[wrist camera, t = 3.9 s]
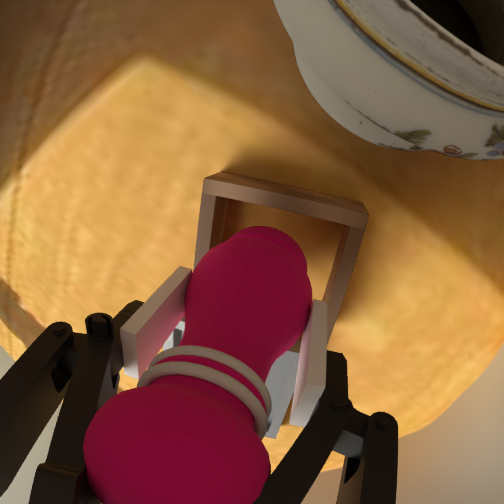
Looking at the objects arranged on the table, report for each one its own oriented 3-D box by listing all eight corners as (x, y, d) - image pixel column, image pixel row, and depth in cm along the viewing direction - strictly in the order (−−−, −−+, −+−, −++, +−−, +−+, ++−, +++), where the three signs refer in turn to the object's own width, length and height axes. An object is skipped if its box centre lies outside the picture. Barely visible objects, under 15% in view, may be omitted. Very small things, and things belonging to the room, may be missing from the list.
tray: (171, 394, 35) (164, 405, 33) (173, 304, 30) (163, 315, 28) (278, 425, 33) (275, 438, 31) (308, 341, 28) (307, 355, 26)
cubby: (204, 295, 29) (189, 315, 25) (220, 171, 24) (203, 178, 21) (325, 326, 27) (324, 351, 24) (362, 203, 23) (368, 215, 20)
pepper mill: (336, 271, 22) (326, 610, 3) (263, 328, 25) (171, 592, 6) (260, 195, 21) (18, 491, 3) (193, 264, 24) (2, 495, 5)
